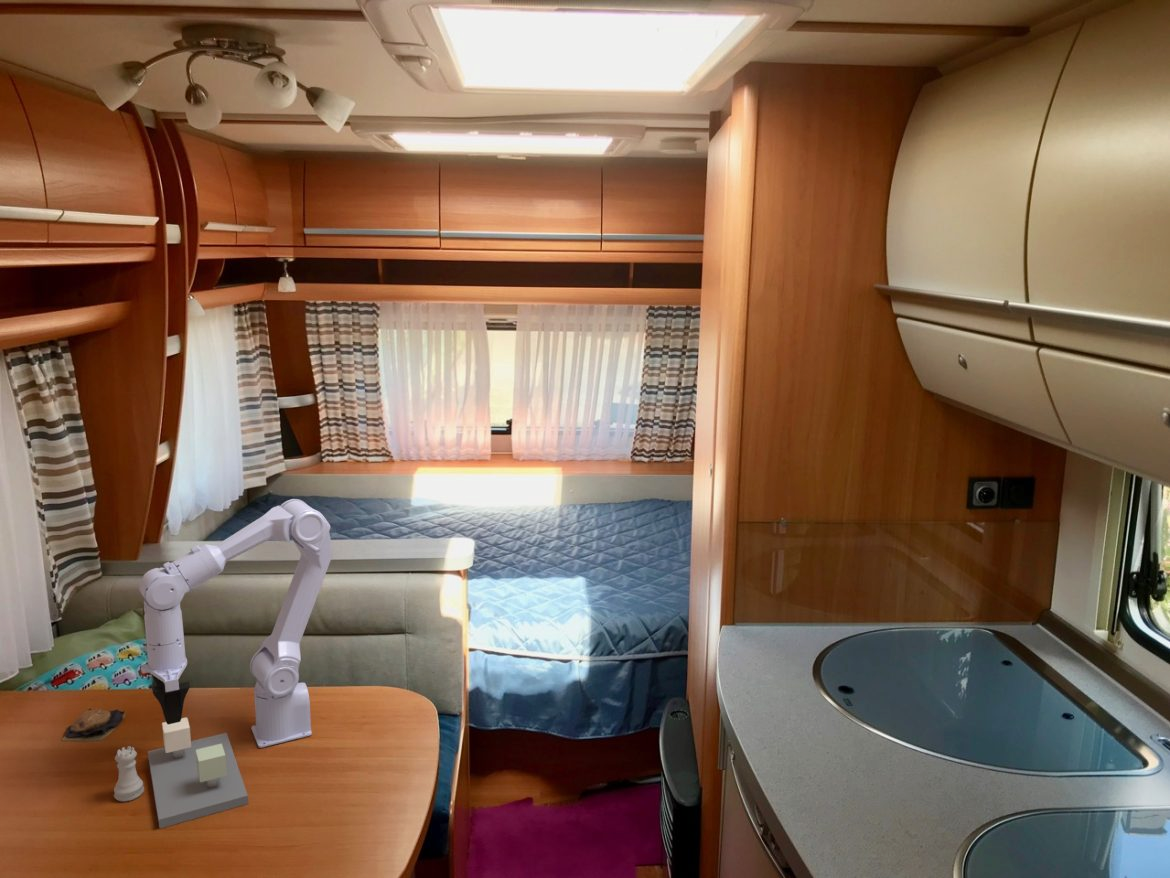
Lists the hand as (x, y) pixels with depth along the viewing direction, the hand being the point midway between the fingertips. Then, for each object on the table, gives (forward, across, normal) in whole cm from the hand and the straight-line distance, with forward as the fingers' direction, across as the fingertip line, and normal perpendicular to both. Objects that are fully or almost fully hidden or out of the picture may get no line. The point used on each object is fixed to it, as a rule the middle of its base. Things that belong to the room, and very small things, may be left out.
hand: (171, 712), depth 148 cm
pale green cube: (+6, +12, +4) cm, 14 cm away
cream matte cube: (+6, 0, 0) cm, 6 cm away
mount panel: (+10, +7, +2) cm, 12 cm away
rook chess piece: (+10, +6, -8) cm, 14 cm away
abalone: (+10, -21, -12) cm, 26 cm away
